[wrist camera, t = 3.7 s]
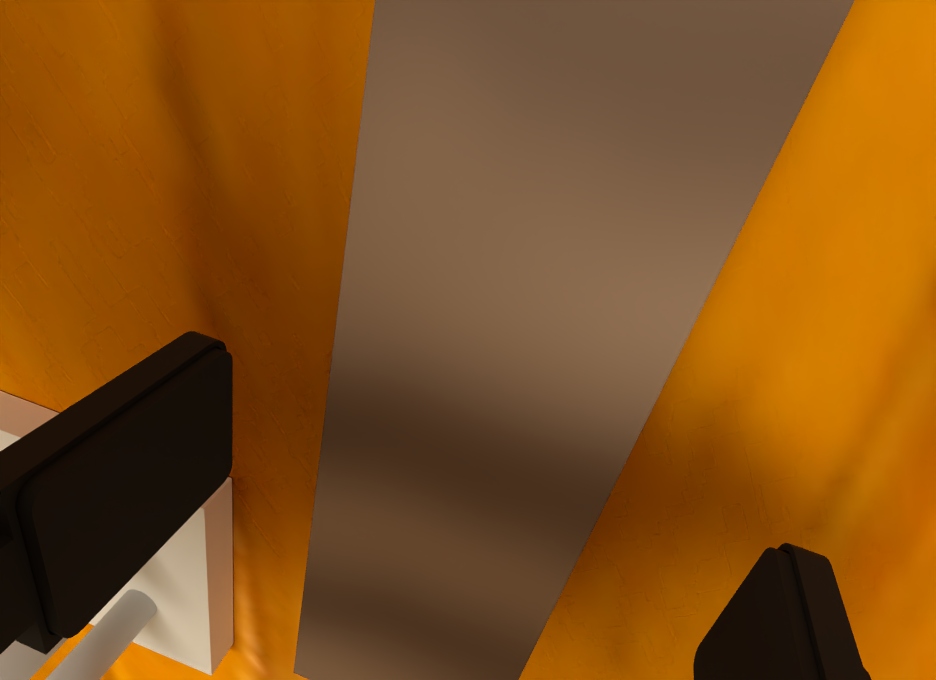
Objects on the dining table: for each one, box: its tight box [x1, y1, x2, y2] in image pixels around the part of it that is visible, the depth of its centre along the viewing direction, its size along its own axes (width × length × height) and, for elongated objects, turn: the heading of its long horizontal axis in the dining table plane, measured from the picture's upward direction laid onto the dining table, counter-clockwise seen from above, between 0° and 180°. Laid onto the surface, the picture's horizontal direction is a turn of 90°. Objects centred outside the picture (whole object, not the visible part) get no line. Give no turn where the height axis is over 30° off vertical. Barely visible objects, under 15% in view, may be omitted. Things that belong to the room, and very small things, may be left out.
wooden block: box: [294, 0, 854, 680], centre depth 13 cm, size 20×6×5 cm, turn 167°
